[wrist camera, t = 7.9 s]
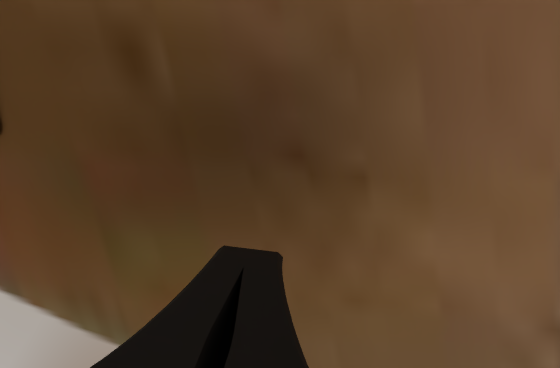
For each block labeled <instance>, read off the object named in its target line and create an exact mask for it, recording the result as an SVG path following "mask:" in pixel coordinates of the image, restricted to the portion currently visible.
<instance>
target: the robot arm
mask: <svg viewBox="0 0 560 368" xmlns="http://www.w3.org/2000/svg"><path fill="white" fill-rule="evenodd" d="M282 261H283V257H282V256H281V255H280V254H279V253H278V252H271V251H263V250H255V249H247V248H239V247H231V246H223V247H221V248H220V249H219V250H218V251H217V252H216V253H215V255H214V256H213V257H212V258H211V259H210V261H209V262H208V263H207V264H206V265H205V266H204V268H203V269H202V270H201V271H200V272H199V273H198V274H197V275H196V277H195V278H194V279H193V280H192V281H191V282H190V283H189V284H188V285H187V286H186V287H185V288H184V289H183V290H182V291H181V292H180V293H179V294H178V295H177V296H176V297H175V298H174V299H173V300H172V301H171V302H170V303H169V304H168V305H167V306H166V307H165V308H164V309H163V310H162V311H160V312H159V313H158V314H157V315H156V316H155V317H154V318H153V319H152V320H151V321H149V322H148V323H147V324H146V325H145V326H144V327H143V328H142V329H140V330H139V331H138V332H137V333H136V334H134V335H133V336H132V337H131V338H129V339H128V340H127V341H126V342H124V343H123V344H122V345H121V346H119V347H118V348H117V349H115V350H114V351H113V352H111V353H110V354H109V355H108V356H106V357H105V358H103V359H102V360H101V361H99V362H97V363H96V364H94V365H93V366H92V367H90V368H309V367H308V365H307V363H306V360H305V357H304V355H303V352H302V349H301V347H300V344H299V341H298V338H297V335H296V332H295V329H294V326H293V322H292V319H291V315H290V311H289V307H288V304H287V299H286V295H285V289H284V283H283V276H282Z"/></svg>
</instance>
